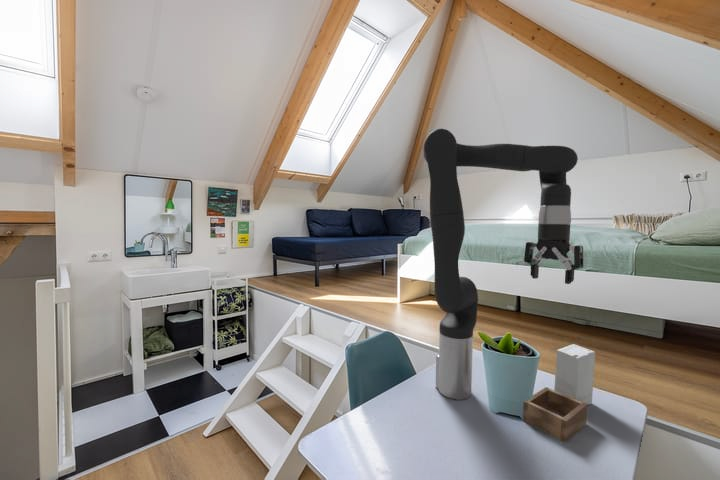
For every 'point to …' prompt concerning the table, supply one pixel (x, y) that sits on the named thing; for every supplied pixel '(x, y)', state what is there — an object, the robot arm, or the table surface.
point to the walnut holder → (552, 422)
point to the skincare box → (575, 372)
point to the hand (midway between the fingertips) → (551, 280)
